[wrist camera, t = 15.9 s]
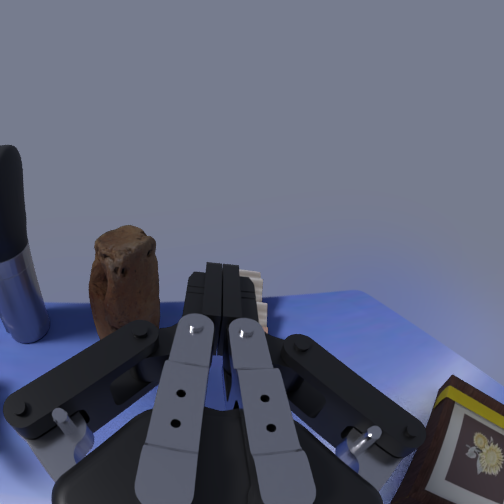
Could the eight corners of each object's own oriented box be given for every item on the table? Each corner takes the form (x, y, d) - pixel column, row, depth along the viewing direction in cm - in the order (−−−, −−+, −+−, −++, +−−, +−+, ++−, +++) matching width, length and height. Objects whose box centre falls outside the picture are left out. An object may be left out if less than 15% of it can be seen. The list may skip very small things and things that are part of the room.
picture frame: (454, 368, 44) (542, 421, 29) (436, 389, 47) (523, 438, 32) (410, 491, 24) (527, 535, 9) (385, 503, 27) (499, 546, 12)
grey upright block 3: (260, 326, 55) (263, 279, 60) (233, 323, 54) (238, 275, 60) (258, 329, 56) (261, 282, 61) (232, 326, 56) (237, 279, 61)
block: (136, 313, 53) (130, 218, 43) (165, 332, 51) (165, 234, 41) (95, 344, 45) (73, 243, 35) (124, 368, 42) (105, 266, 32)
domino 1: (262, 300, 59) (260, 272, 68) (237, 297, 59) (238, 269, 67) (260, 306, 60) (259, 277, 69) (236, 303, 60) (237, 275, 68)
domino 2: (266, 352, 49) (267, 303, 56) (237, 349, 49) (240, 299, 55) (264, 355, 51) (265, 307, 57) (236, 352, 50) (239, 304, 57)
